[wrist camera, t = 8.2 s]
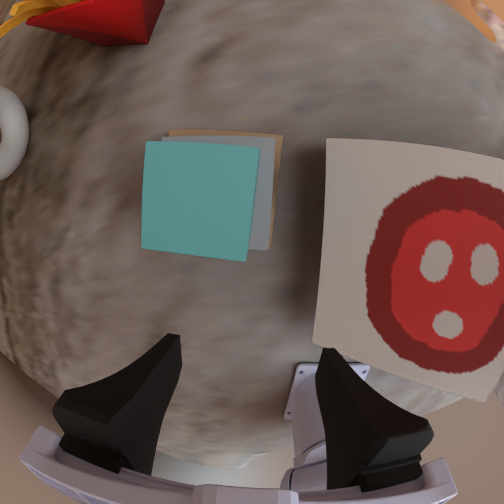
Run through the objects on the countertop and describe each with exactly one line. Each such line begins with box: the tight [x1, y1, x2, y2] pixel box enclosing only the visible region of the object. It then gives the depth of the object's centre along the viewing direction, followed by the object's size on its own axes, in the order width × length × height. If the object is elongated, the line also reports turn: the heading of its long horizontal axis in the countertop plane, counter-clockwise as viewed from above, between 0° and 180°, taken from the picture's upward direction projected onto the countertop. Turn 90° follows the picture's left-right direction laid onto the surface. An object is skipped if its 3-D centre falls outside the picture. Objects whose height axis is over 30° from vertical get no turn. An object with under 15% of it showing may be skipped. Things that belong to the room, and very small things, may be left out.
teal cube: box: [141, 141, 261, 262], centre depth 14 cm, size 5×5×5 cm
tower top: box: [161, 136, 276, 251], centre depth 18 cm, size 7×7×2 cm
